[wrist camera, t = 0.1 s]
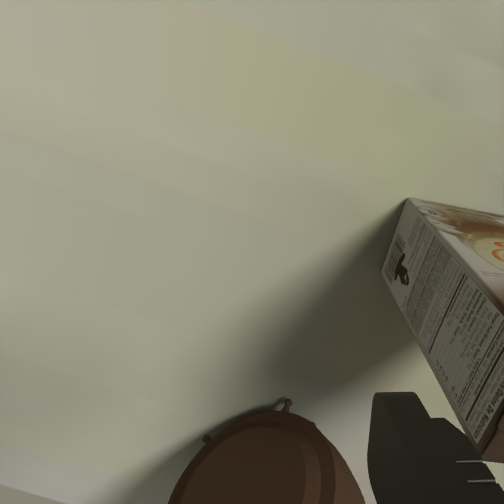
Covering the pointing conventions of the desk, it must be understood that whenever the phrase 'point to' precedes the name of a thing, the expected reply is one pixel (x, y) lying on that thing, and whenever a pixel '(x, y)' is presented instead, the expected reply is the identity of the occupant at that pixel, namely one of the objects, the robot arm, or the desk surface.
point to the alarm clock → (268, 465)
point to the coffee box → (456, 308)
